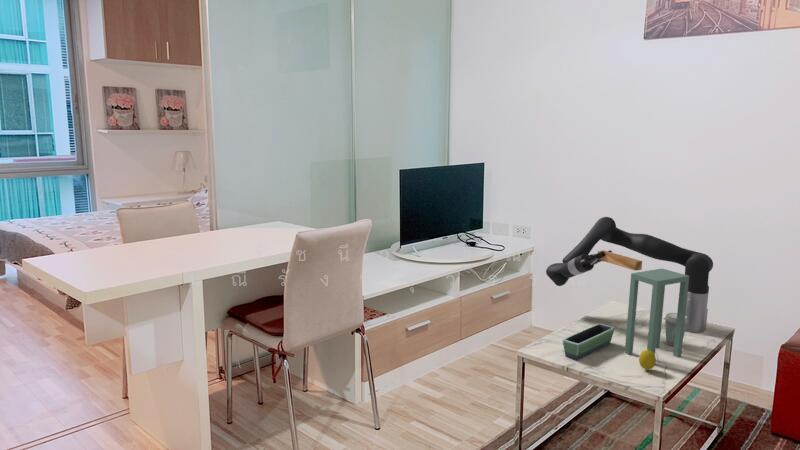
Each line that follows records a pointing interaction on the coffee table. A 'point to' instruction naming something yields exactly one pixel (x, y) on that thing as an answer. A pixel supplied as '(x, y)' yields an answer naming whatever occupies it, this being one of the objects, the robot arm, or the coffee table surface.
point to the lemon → (647, 359)
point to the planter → (587, 341)
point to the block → (621, 260)
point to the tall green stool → (657, 307)
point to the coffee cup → (672, 327)
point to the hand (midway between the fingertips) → (607, 253)
